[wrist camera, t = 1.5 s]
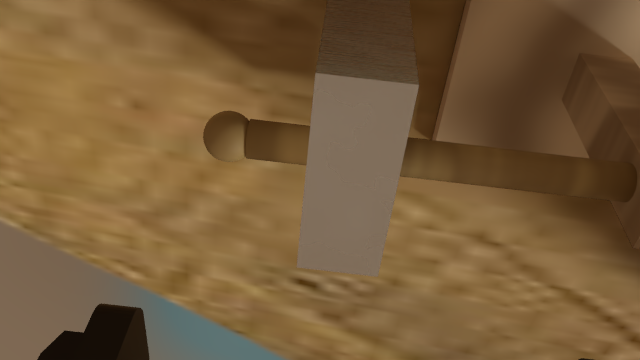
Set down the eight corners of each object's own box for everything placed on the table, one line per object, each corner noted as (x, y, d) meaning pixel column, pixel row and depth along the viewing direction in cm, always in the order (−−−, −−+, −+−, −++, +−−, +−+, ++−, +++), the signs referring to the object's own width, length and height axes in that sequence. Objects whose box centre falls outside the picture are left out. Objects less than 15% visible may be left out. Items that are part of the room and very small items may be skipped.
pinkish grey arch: (407, -15, 24) (419, 85, 18) (377, 152, 29) (377, 276, 22) (331, -23, 24) (315, 72, 18) (313, 144, 29) (296, 267, 22)
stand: (692, -30, 26) (855, 103, 17) (603, 161, 32) (689, 331, 23) (247, -82, 26) (182, 25, 17) (244, 119, 32) (195, 274, 23)
